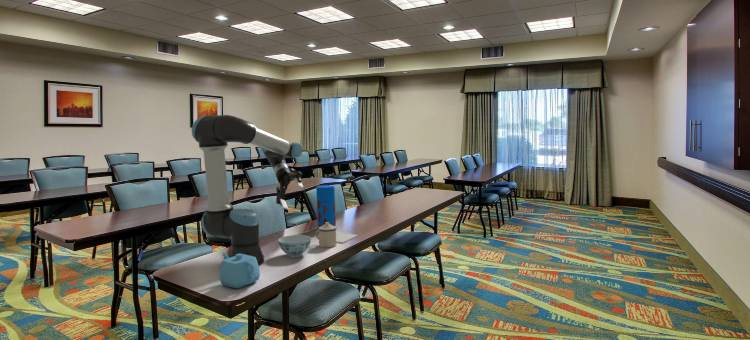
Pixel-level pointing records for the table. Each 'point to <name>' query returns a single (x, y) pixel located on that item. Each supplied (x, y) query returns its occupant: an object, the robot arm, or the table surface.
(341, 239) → the mat
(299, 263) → the table surface
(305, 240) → the chinaware
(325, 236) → the teacup with lid
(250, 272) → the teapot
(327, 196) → the blue tall box
